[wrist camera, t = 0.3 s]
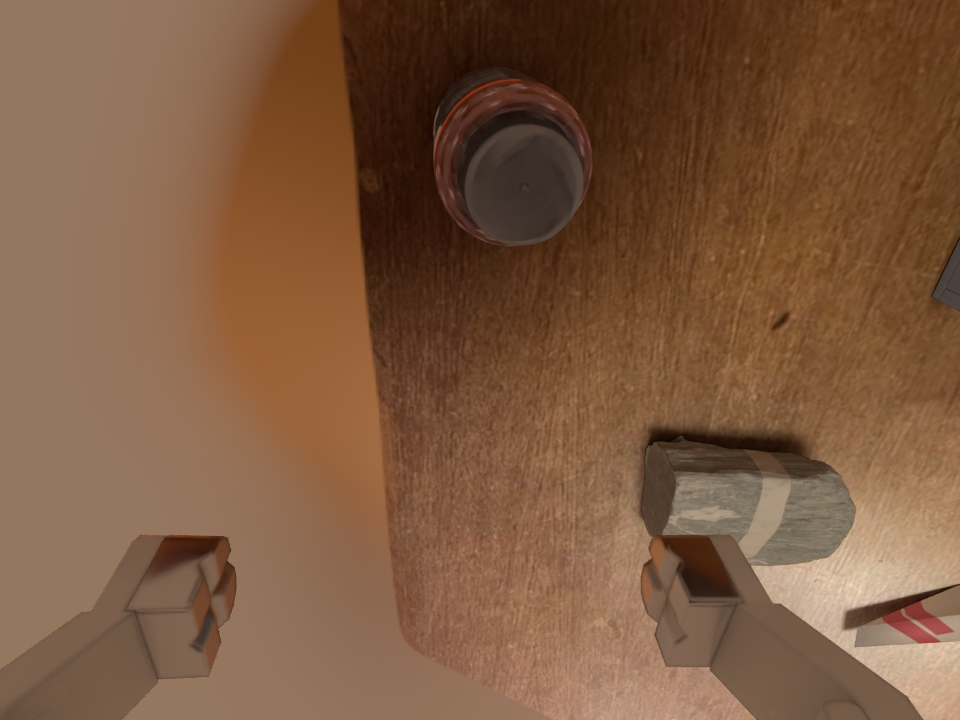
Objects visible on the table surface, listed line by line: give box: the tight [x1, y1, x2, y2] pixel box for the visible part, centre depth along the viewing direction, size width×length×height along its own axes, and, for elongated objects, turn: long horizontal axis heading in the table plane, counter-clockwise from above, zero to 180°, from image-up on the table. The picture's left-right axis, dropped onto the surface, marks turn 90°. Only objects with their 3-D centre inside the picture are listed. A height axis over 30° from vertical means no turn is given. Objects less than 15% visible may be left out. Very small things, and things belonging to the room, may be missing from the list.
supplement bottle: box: [433, 66, 592, 246], centre depth 24 cm, size 6×6×11 cm
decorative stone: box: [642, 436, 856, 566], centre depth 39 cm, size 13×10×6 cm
